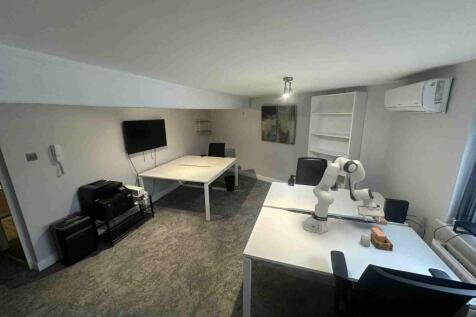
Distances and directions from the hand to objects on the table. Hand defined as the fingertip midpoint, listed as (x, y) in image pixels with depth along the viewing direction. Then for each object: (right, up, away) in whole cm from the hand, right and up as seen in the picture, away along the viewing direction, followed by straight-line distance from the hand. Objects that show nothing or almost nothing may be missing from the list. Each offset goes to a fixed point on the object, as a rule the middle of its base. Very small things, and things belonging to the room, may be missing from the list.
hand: (372, 221), depth 166 cm
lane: (-4, -14, -14) cm, 21 cm away
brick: (+21, -6, +20) cm, 29 cm away
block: (-3, -13, -9) cm, 16 cm away
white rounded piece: (-16, -14, -14) cm, 26 cm away
